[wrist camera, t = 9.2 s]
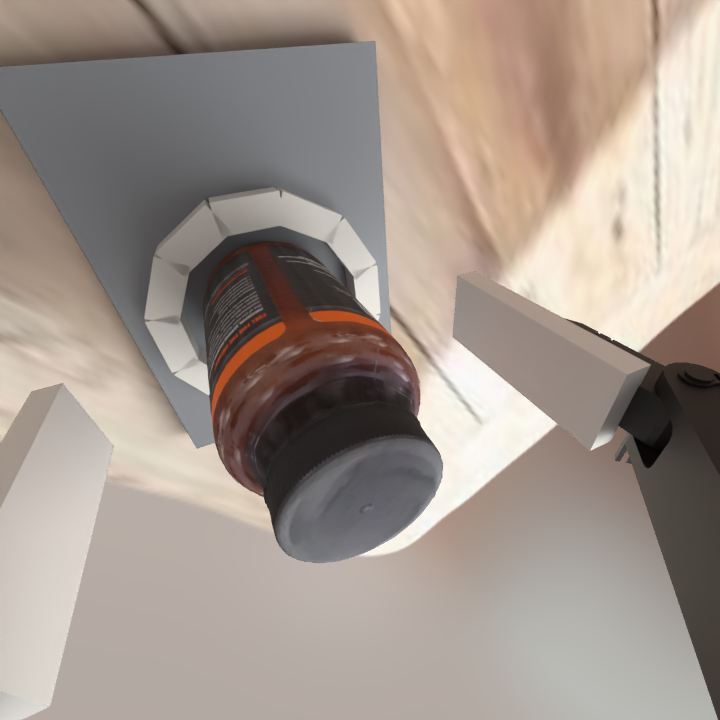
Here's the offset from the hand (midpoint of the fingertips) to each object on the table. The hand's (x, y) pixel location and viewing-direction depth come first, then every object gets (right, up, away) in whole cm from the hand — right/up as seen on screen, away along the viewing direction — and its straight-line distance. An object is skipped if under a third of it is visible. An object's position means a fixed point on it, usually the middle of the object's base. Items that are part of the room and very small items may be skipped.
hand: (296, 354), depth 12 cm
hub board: (-2, +4, +5) cm, 6 cm away
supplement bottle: (-2, +3, +4) cm, 5 cm away
